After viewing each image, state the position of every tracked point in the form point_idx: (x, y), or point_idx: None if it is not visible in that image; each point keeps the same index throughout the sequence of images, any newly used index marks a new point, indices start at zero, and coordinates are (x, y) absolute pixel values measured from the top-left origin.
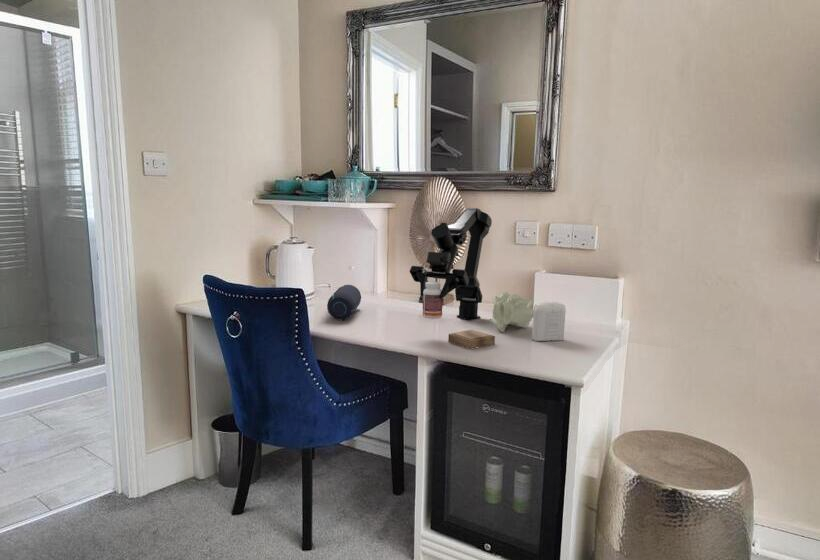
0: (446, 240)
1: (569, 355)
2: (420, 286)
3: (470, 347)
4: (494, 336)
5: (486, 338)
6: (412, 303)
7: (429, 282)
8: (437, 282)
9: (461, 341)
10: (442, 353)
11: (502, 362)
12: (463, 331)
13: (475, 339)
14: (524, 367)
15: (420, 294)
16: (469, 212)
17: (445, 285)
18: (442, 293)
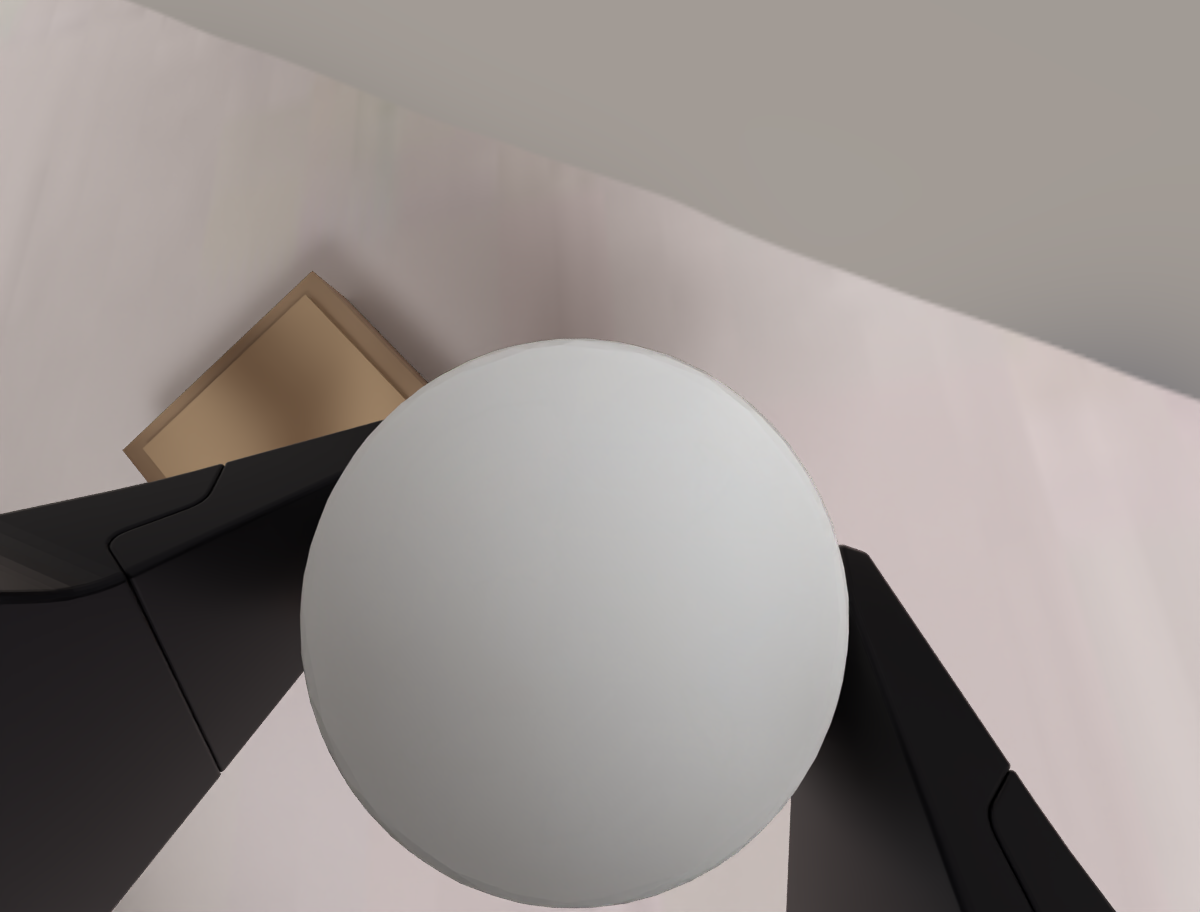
0: None
1: None
2: (987, 732)
3: (344, 297)
4: (127, 446)
5: (196, 384)
6: None
7: (695, 614)
8: (396, 682)
9: (392, 350)
10: (532, 166)
11: (195, 83)
12: None
13: (279, 319)
14: (100, 31)
15: (870, 560)
16: None
17: (187, 505)
18: (377, 423)
